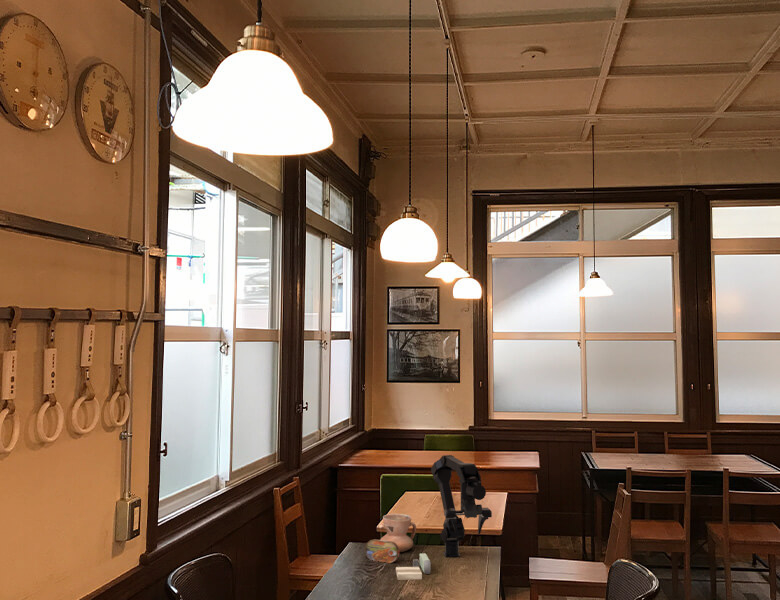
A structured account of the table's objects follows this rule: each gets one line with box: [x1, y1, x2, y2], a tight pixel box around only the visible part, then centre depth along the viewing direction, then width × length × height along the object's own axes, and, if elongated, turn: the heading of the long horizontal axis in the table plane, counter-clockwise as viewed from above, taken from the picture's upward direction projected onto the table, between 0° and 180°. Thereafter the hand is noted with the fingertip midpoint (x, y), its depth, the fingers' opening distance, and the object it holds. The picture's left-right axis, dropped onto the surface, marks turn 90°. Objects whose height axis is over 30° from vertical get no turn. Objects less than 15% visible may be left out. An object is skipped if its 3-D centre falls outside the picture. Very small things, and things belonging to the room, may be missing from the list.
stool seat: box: [395, 566, 423, 581], centre depth 269 cm, size 9×9×2 cm
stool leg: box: [419, 553, 432, 575], centre depth 277 cm, size 13×2×4 cm, turn 6°
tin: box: [364, 538, 400, 564], centre depth 288 cm, size 15×3×8 cm, turn 62°
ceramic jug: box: [378, 513, 417, 553], centre depth 305 cm, size 18×14×14 cm
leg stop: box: [412, 558, 420, 568], centre depth 279 cm, size 2×2×3 cm
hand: (467, 534), depth 284 cm, fingers open, 9 cm apart
